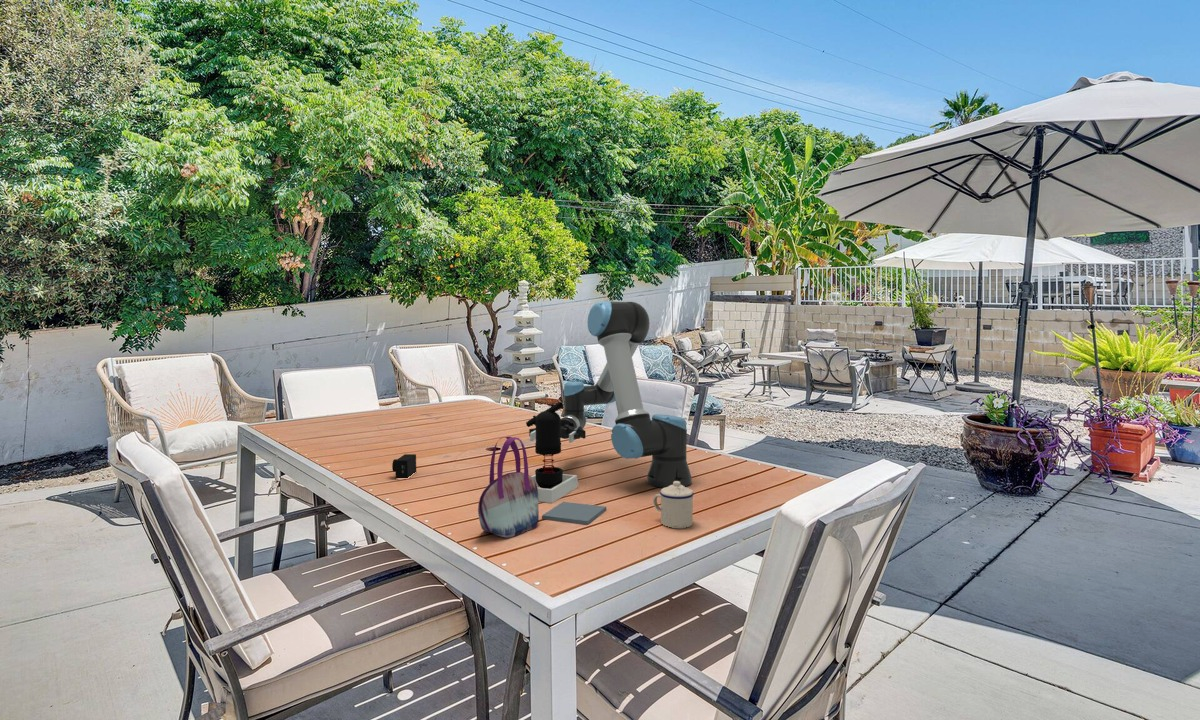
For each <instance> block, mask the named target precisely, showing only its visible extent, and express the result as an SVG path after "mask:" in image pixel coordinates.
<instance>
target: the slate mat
mask: <svg viewBox="0 0 1200 720" xmlns="http://www.w3.org/2000/svg"><path fill="white" fill-rule="evenodd" d="M604 511H605V512H606V511H607V506H604V505H596V504H588V503H587V504H585V503H579V502H578V503H577V502H570V501H569V502H568V501H563V502H562V501H561V502H560V503H559V504H558V505H556V506H554V507H553V508H552V509H550V510H548V511H547V512H544V514H542V515H541V519H542V520H547V521H554V522H564V523H571V524H579V525H585V526H586V525H589V524H590V523H592V522H593V521H595V520H596V519H597V518H598V517H600V516H601V515H602V514H603V513H605V512H604Z"/></svg>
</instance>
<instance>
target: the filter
mask: <svg viewBox="0 0 1200 720" xmlns="http://www.w3.org/2000/svg"><path fill="white" fill-rule="evenodd" d="M550 406H551V407H548V408H547V409H546V410H543V411H540V412H539V413H538V414H537V415H536V414H534V415H533V416H532V418H531V419H528V421H526V422H525V424H526V427H528V428H530V427H533V426H535V428H536V439H535V443H534V444H535V446H534V447H535V452H534V453H535V454H537V455H542V456H543V460H542V462H543V464H544V465H543V466H542V467H539V468H536V469H535V471H534V472H535V474H534V475H536V482H537V484H538V488H545V489H552V488H553V487H555V486H557V485H559V484H560V483H562V480H563V474H564V470H563V469H562V468H561V467H557V466H555V465H553V463H554V461H555V459H553V458H546V457H554V456H555V455H558V454H560V453H562V442H561V441H562V440H561V439H562V438H561V436H560V419H561V416H560V415H559V414H558V413H557V411H559V410H561V409H562V408H564V404H563V402H562V401H559V402H558V403H557V402H556V404H553V403H552V404H551V405H550ZM546 463H551V464H546Z"/></svg>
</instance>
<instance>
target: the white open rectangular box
mask: <svg viewBox="0 0 1200 720" xmlns="http://www.w3.org/2000/svg"><path fill="white" fill-rule="evenodd" d="M530 476H531V477H533V479H534V480H535V482H536V475H535V474H533V475H530ZM578 478H579V477H578V475H577V474H566V473H565V474H564V473H563V480H562V483H560V484H559V485H557V486H555V487H553V488H552V489H545V488H540V487H539V486H538V484H537V482H536V485H537V486H538V487H537V489H538V499H539V501H540V503H550V504H553V503H555V502H556V501H558V500H560V499H561V498H563V497H564V496H567V495H568V494H570V493H571V492H573V491H574V490H575V489H577V488H578Z"/></svg>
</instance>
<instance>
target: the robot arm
mask: <svg viewBox="0 0 1200 720" xmlns="http://www.w3.org/2000/svg"><path fill="white" fill-rule="evenodd" d="M649 317H650V316H649V314H648V311H647V310H646V309H645V308H644V306H642V305H641V304H640V303H638V302H636V301H635V302H634V301H609V300H606V301H599V302H596V303H594V304H593V305H592V306H591V308H590V310H589V313H588V316H587V321H586V322H587V323H586V324H587V330H588V332H589V333H590V335H591V336H593V337H597V339H596V340H597V342H598V344H599V345H600V346H602V347H603V350H604V354H605V359H606V364H605V365H604V368H603V370H602V372H601V374H600V376H599V378H598V380H597V381H596V384H595V385H594V384H593V385H584V382H583V381H567V382H565V383H564V386H563V387H564V388H563V399H564V400H563V402H564V404H563V407H564V409H563V411H564V412H563V413H564V414H563V417H561V418H560V436H561V439H564V440H568V443H569V444H571V443H573V442H575V441H576V440H578V439H586V430H585V429H584V428H585V426H586V425H587V417H586V415H585V406H594V405H595V406H597V405H608V404H611V403H614V402H615V406H616V410H617V414H618V415H617V417H616V418H615V420H614V423H615V424H614V426H612V429H611V434H610V440H611V443H612V447H613V449H614V450H615V452H616V453H617V454H618V455H619V456H620V457H622V458H623V459H627V460H629V459H630V460H631V459H634V460H635V459H636V460H637V459H639V458H645V457H650V456H651V464H650V465H649V466H650V467H649V469H648V471H647V472H648V473H647V476H646V480H647V481H646V482H648V483H647V484H648V485H650V486H652V485H653V487H656V486H657V487H656V488H662V487H663V488H665V487H668V486H670V485H673V482H674V481H679V482H680V485H683V486H684V487H685V486H686V487H688V485H689V486H691V484H693V483H692V479H693V478H692V477H693V476H692V473H691V471H690V468H689V465H688V461H687V443H688V439H687V438H688V437H687V436H688V430H687V429H688V428H687V420H686V419H685V418H684V417H682V416H678V415H677V416H676V415H669V414H658V413H657V414H653V415H652V416H650V413H649V411H646V410H645V409H644V405H643V401H642V396H641V392H640V388H639V384H638V380H637V374H636V370H635V369H636V368H635V366H634V361H633V356H634V354H635V353H636V350H637V349H638V347H639V345H640V344H643V343H644V341H645V340H646V338H647V336H648V333H649V330H650V324H651V323H650V318H649ZM528 436H529V442H533V441H536V427H534V428H529V429H528ZM663 488H662V489H663Z"/></svg>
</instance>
